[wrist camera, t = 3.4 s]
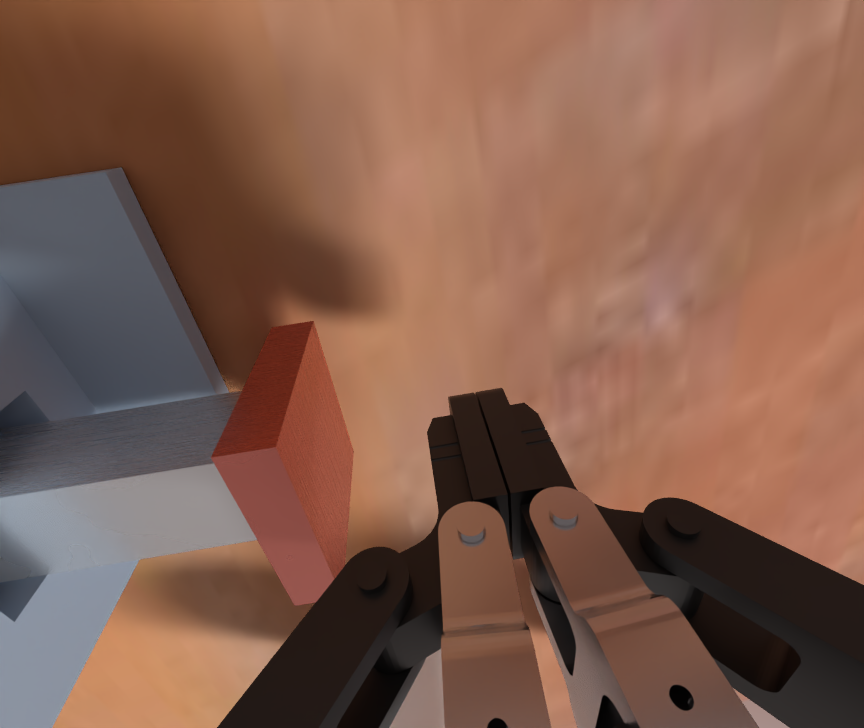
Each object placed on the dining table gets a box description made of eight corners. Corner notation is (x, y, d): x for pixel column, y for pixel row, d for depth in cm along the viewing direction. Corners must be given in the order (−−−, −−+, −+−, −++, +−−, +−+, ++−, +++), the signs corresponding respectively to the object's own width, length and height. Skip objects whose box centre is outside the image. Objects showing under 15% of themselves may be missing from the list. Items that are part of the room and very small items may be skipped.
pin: (313, 321, 12) (275, 447, 8) (353, 451, 15) (342, 597, 11) (-153, 393, 12) (-460, 566, 8) (-23, 512, 15) (-193, 688, 10)
